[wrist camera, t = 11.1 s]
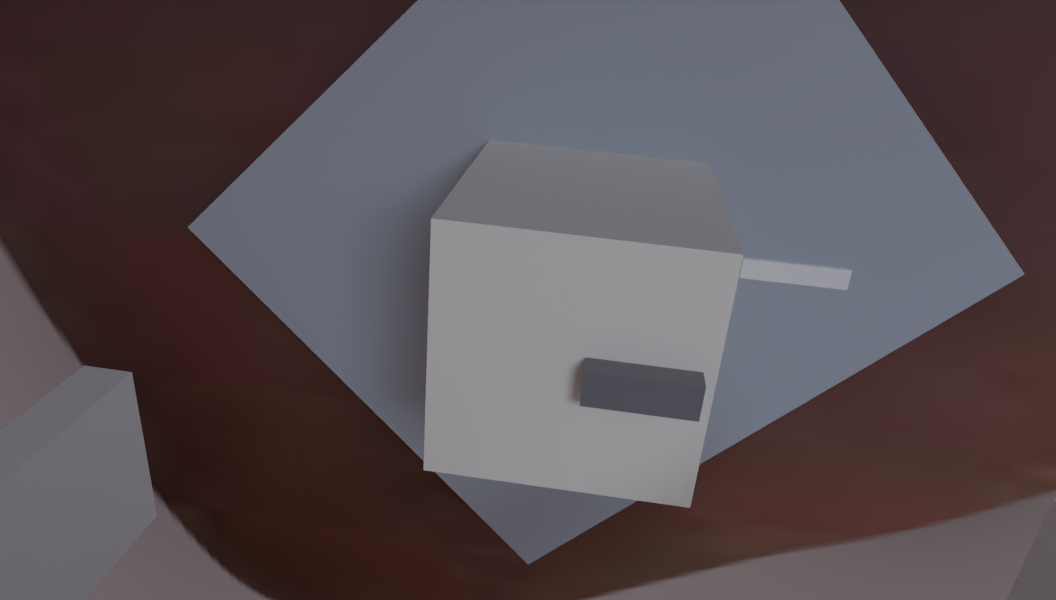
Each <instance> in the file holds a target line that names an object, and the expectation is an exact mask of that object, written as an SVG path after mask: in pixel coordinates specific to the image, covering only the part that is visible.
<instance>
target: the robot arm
mask: <svg viewBox="0 0 1056 600" xmlns="http://www.w3.org/2000/svg"><path fill="white" fill-rule="evenodd" d="M156 516H157V513H156V506H155V501H154V495H153V489H152V484H151V478H150V472H149V467H148V461H147V455H146V449H145V444H144V438H143V432H142V427H141V421H140V415H139V410H138V404H137V398H136V393H135V387H134V381H133V376H132V372H127V371H120V370H112V369H105V368H98V367H91V366H83V367H81V368H80V369H79V370H77V371H76V372H75V373H74V374H72V375H71V376H70V377H68V378H67V379H66V380H65V381H63V382H62V383H61V384H59V385H58V386H57V387H55V388H54V389H53V390H51V391H50V392H49V393H48V394H46V395H45V396H44V397H42V398H41V399H40V400H39V401H37V402H36V403H35V404H33V405H32V406H31V407H29V408H28V409H27V410H26V411H24V412H23V413H22V414H20V415H19V416H18V417H17V418H15V419H14V420H13V421H12V422H10V423H9V424H8V425H6V426H5V427H4V428H2V429H1V430H0V600H87V599H88V598H89V597H90V595H91V594H92V593H93V592H94V591H95V589H96V588H97V587H98V586H99V585H100V584H101V582H102V581H103V580H104V579H105V577H106V576H107V575H108V574H109V573H110V572H111V570H112V569H113V568H114V567H115V566H116V564H117V563H118V562H119V561H120V559H121V558H122V557H123V556H124V555H125V554H126V552H127V551H128V550H129V549H130V547H131V546H132V545H133V544H134V543H135V541H136V540H137V539H138V538H139V537H140V536H141V534H142V533H143V532H144V531H145V530H146V528H147V527H148V526H149V524H151V522H152V521H153V520H154V519H155V518H156ZM1007 600H1056V499H1053V502H1052V504H1051V506H1050V508H1049V510H1048V512H1047V514H1046V517H1045V519H1044V521H1043V523H1042V526H1041V527H1040V530H1039V532H1038V534H1037V536H1036V538H1035V540H1034V542H1033V545H1032V547H1031V549H1030V551H1029V553H1028V555H1027V558H1026V559H1025V562H1024V564H1023V566H1022V568H1021V570H1020V572H1019V575H1018V577H1017V579H1016V581H1015V583H1014V585H1013V587H1012V590H1011V592H1010V594H1009V596H1008V598H1007Z"/></svg>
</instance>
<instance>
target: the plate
mask: <svg viewBox="0 0 1056 600" xmlns="http://www.w3.org/2000/svg"><path fill="white" fill-rule="evenodd" d="M489 140H499V141H508V142H517V143H526V144H535V145H545V146H554V147H563V148H572V149H582V150H591V151H600V152H609V153H619V154H628V155H637V156H646V157H655V158H665V159H674V160H683V161H692V162H702V163H709V165H710V168H711V171H712V173H713V176H714V178H715V181H716V184H717V186H718V189H719V191H720V194H721V197H722V199H723V202H724V205H725V207H726V210H727V212H728V215H729V218H730V220H731V223H732V226H733V228H734V231H735V233H736V236H737V239H738V241H739V244H740V247H741V249H742V252H743V254H744V255H743V260H742V265H741V269H740V274H739V279H738V284H737V288H736V293H735V298H734V303H733V307H732V312H731V317H730V321H729V326H728V331H727V336H726V340H725V345H724V350H723V355H722V359H721V364H720V369H719V374H718V378H717V383H716V388H715V392H714V397H713V402H712V407H711V411H710V416H709V421H708V426H707V430H706V435H705V440H704V444H703V449H702V454H701V459H700V463H699V464H701V463H703V462H704V461H706V460H708V459H710V458H711V457H713V456H715V455H716V454H718V453H720V452H722V451H723V450H725V449H727V448H728V447H730V446H732V445H733V444H735V443H737V442H739V441H740V440H742V439H744V438H745V437H747V436H749V435H751V434H752V433H754V432H756V431H757V430H759V429H761V428H763V427H764V426H766V425H768V424H769V423H771V422H773V421H775V420H776V419H778V418H780V417H781V416H783V415H785V414H787V413H788V412H790V411H792V410H793V409H795V408H797V407H798V406H800V405H802V404H804V403H805V402H807V401H809V400H810V399H812V398H814V397H816V396H817V395H819V394H821V393H822V392H824V391H826V390H828V389H829V388H831V387H833V386H834V385H836V384H838V383H840V382H841V381H843V380H845V379H846V378H848V377H850V376H852V375H853V374H855V373H857V372H858V371H860V370H862V369H863V368H865V367H867V366H869V365H870V364H872V363H874V362H875V361H877V360H879V359H881V358H882V357H884V356H886V355H887V354H889V353H891V352H893V351H894V350H896V349H898V348H899V347H901V346H903V345H905V344H906V343H908V342H910V341H911V340H913V339H915V338H917V337H918V336H920V335H922V334H923V333H925V332H927V331H928V330H930V329H932V328H934V327H935V326H937V325H939V324H940V323H942V322H944V321H946V320H947V319H949V318H951V317H952V316H954V315H956V314H958V313H959V312H961V311H963V310H964V309H966V308H968V307H970V306H971V305H973V304H975V303H976V302H978V301H980V300H982V299H983V298H985V297H987V296H988V295H990V294H992V293H993V292H995V291H997V290H999V289H1000V288H1002V287H1004V286H1005V285H1007V284H1009V283H1011V282H1012V281H1014V280H1016V279H1017V278H1019V277H1021V276H1023V275H1024V273H1023V271H1022V270H1021V268H1020V267H1019V265H1018V264H1017V262H1016V261H1015V259H1014V258H1013V256H1012V255H1011V253H1010V252H1009V250H1008V249H1007V247H1006V246H1005V244H1004V243H1003V241H1002V240H1001V239H1000V237H999V236H998V234H997V233H996V231H995V230H994V228H993V227H992V225H991V224H990V222H989V221H988V219H987V218H986V216H985V215H984V213H983V212H982V210H981V209H980V207H979V206H978V204H977V203H976V202H975V200H974V199H973V197H972V196H971V194H970V193H969V191H968V190H967V188H966V187H965V185H964V184H963V182H962V181H961V179H960V178H959V176H958V175H957V173H956V172H955V170H954V169H953V168H952V166H951V165H950V163H949V162H948V160H947V159H946V157H945V156H944V154H943V153H942V151H941V150H940V148H939V147H938V145H937V144H936V142H935V141H934V139H933V138H932V136H931V135H930V133H929V132H928V131H927V129H926V128H925V126H924V125H923V123H922V122H921V120H920V119H919V117H918V116H917V114H916V113H915V111H914V110H913V108H912V107H911V105H910V104H909V102H908V101H907V99H906V98H905V96H904V95H903V94H902V92H901V91H900V89H899V88H898V86H897V85H896V83H895V82H894V80H893V79H892V77H891V76H890V74H889V73H888V71H887V70H886V68H885V67H884V65H883V64H882V62H881V61H880V60H879V58H878V57H877V55H876V54H875V52H874V51H873V49H872V48H871V46H870V45H869V43H868V42H867V40H866V39H865V37H864V36H863V34H862V33H861V31H860V30H859V28H858V27H857V25H856V24H855V23H854V21H853V20H852V18H851V17H850V15H849V14H848V12H847V11H846V9H845V8H844V6H843V5H842V3H841V2H840V0H417V1H416V2H415V3H414V4H413V5H412V6H411V7H410V8H409V9H408V10H407V11H406V12H405V13H404V14H403V15H402V16H401V17H400V18H399V19H398V20H397V21H396V22H395V23H394V24H393V25H392V26H391V27H390V28H389V29H388V30H387V31H386V32H385V33H384V34H383V35H382V36H381V37H380V38H379V39H378V40H377V41H376V42H375V43H374V44H373V45H372V46H371V47H370V48H369V49H368V50H367V51H366V52H365V53H364V54H363V55H362V56H361V57H360V58H359V59H358V60H357V61H356V62H355V63H354V64H353V65H352V66H351V67H350V68H349V69H348V70H347V71H345V72H344V73H343V74H342V75H341V76H340V77H339V78H338V79H337V80H336V81H335V82H334V83H333V84H332V85H331V86H330V87H329V88H328V89H327V90H326V91H325V92H324V93H323V94H322V95H321V96H320V97H319V98H318V99H317V100H316V101H315V102H314V103H313V104H312V105H311V106H310V107H309V108H308V109H307V110H306V111H305V112H304V113H303V114H302V115H301V116H300V117H299V118H298V119H297V120H296V121H295V122H294V123H293V124H292V125H291V126H290V127H289V128H288V129H287V130H286V131H285V132H284V133H283V134H282V135H281V136H280V137H279V138H278V139H277V140H276V141H275V142H274V143H273V144H272V145H270V146H269V147H268V148H267V149H266V150H265V151H264V152H263V153H262V154H261V155H260V156H259V157H258V158H257V159H256V160H255V161H254V162H253V163H252V164H251V165H250V166H249V167H248V168H247V169H246V170H245V171H244V172H243V173H242V174H241V175H240V176H239V177H238V178H237V179H236V180H235V181H234V182H233V183H232V184H231V185H230V186H229V187H228V188H227V189H226V190H225V191H224V192H223V193H222V194H221V195H220V196H219V197H218V198H217V199H216V200H215V201H214V202H213V203H212V204H211V205H210V206H209V207H208V208H207V209H206V210H205V211H204V212H203V213H202V214H201V215H200V216H199V217H198V218H197V219H195V220H194V221H193V222H192V223H191V224H190V225H189V226H188V228H189V229H190V230H191V231H192V232H193V233H194V234H195V235H196V236H197V237H198V238H199V239H200V240H201V241H202V242H203V243H204V244H205V245H206V246H207V247H208V248H209V249H210V250H211V251H212V252H213V253H214V254H215V255H216V256H217V257H218V258H219V259H220V260H221V261H222V262H223V263H224V264H225V265H226V266H227V267H228V268H229V269H230V270H231V271H232V272H233V273H234V274H235V275H236V276H237V277H238V278H239V279H240V280H241V281H242V282H243V283H244V284H245V285H246V286H247V287H248V288H249V289H250V290H251V291H252V292H253V293H254V294H255V295H256V296H257V297H258V298H259V299H260V300H261V301H262V302H263V303H264V304H265V305H267V306H268V307H269V308H270V309H271V310H272V311H273V312H274V313H275V314H276V315H277V316H278V317H279V318H280V319H281V320H282V321H283V322H284V323H285V324H286V325H287V326H288V327H289V328H290V329H291V330H292V331H293V332H294V333H295V334H296V335H297V336H298V337H299V338H300V339H301V340H302V341H303V342H304V343H305V344H306V345H307V346H308V347H309V348H310V349H311V350H312V351H313V352H314V353H315V354H316V355H317V356H318V357H319V358H320V359H321V360H322V361H323V362H324V363H325V364H326V365H327V366H328V367H329V368H330V369H331V370H332V371H333V372H334V373H335V374H336V375H337V376H338V377H339V378H340V379H341V380H342V381H343V382H344V383H345V384H346V385H347V386H348V387H349V388H350V389H351V390H352V391H353V392H354V393H355V394H356V395H357V396H358V397H359V398H360V399H361V400H362V401H363V402H364V403H366V404H367V405H368V406H369V407H370V408H371V409H372V410H373V411H374V412H375V413H376V414H377V415H378V416H379V417H380V418H381V419H382V420H383V421H384V422H385V423H386V424H387V425H388V426H389V427H390V428H391V429H392V430H393V431H394V432H395V433H396V434H397V435H398V436H399V437H400V438H401V439H402V440H403V441H404V442H405V443H406V444H407V445H408V446H409V447H410V448H411V449H412V450H413V451H414V452H415V453H416V454H417V455H418V456H419V457H420V458H421V459H422V460H423V461H424V435H425V402H426V368H427V335H428V302H429V269H430V236H431V218H432V216H433V215H434V214H435V212H436V211H437V210H438V208H439V207H440V206H441V204H442V203H443V201H444V200H445V199H446V197H447V196H448V195H449V193H450V192H451V191H452V189H453V188H454V187H455V185H456V184H457V183H458V181H459V180H460V179H461V177H462V176H463V175H464V173H465V172H466V171H467V169H468V168H469V167H470V165H471V164H472V163H473V161H474V160H475V159H476V157H477V156H478V155H479V153H480V152H481V151H482V149H483V148H484V147H485V145H486V144H487V143H488V141H489ZM435 473H436V474H437V475H438V476H439V477H440V478H441V479H442V480H443V481H444V482H445V483H446V484H447V485H448V486H449V487H450V488H451V489H452V490H453V491H454V492H455V493H456V494H457V495H458V496H459V497H460V498H461V499H462V500H463V501H464V502H466V503H467V504H468V505H469V506H470V507H471V508H472V509H473V510H474V511H475V512H476V513H477V514H478V515H479V516H480V517H481V518H482V519H483V520H484V521H485V522H486V523H487V524H488V525H489V526H490V527H491V528H492V529H493V530H494V531H495V532H496V533H497V534H498V535H499V536H500V537H501V538H502V539H503V540H504V541H505V542H506V543H507V544H508V545H509V546H510V547H511V548H512V549H513V550H514V551H515V552H516V553H517V554H518V555H519V556H520V557H521V558H522V559H523V560H524V561H525V562H526V563H527V564H530V563H532V562H533V561H535V560H537V559H538V558H540V557H542V556H544V555H545V554H547V553H549V552H550V551H552V550H554V549H556V548H557V547H559V546H561V545H562V544H564V543H566V542H568V541H569V540H571V539H573V538H574V537H576V536H578V535H580V534H581V533H583V532H585V531H586V530H588V529H590V528H592V527H593V526H595V525H597V524H598V523H600V522H602V521H603V520H605V519H607V518H609V517H610V516H612V515H614V514H615V513H617V512H619V511H621V510H622V509H624V508H626V507H627V506H629V505H631V504H633V503H634V502H636V501H638V500H631V499H624V498H617V497H610V496H603V495H596V494H589V493H582V492H574V491H567V490H560V489H553V488H546V487H539V486H532V485H525V484H518V483H511V482H504V481H497V480H489V479H482V478H475V477H468V476H461V475H454V474H447V473H440V472H435Z"/></svg>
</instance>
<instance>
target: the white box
mask: <svg viewBox="0 0 1056 600" xmlns="http://www.w3.org/2000/svg"><path fill="white" fill-rule="evenodd" d="M743 255H744V254H743V252H742V249H741V247H740V244H739V241H738V239H737V236H736V233H735V231H734V228H733V226H732V223H731V220H730V218H729V215H728V212H727V210H726V207H725V205H724V202H723V199H722V197H721V194H720V191H719V189H718V186H717V184H716V181H715V178H714V176H713V173H712V171H711V168H710V165H709V163H702V162H692V161H683V160H674V159H665V158H655V157H646V156H637V155H628V154H619V153H609V152H600V151H591V150H582V149H572V148H563V147H554V146H545V145H535V144H526V143H517V142H508V141H499V140H489V141H488V143H487V144H486V145H485V147H484V148H483V149H482V151H481V152H480V153H479V155H478V156H477V157H476V159H475V160H474V161H473V163H472V164H471V165H470V167H469V168H468V169H467V171H466V172H465V173H464V175H463V176H462V177H461V179H460V180H459V181H458V183H457V184H456V185H455V187H454V188H453V189H452V191H451V192H450V193H449V195H448V196H447V197H446V199H445V200H444V201H443V203H442V204H441V206H440V207H439V208H438V210H437V211H436V212H435V214H434V215H433V216H432V218H431V236H430V269H429V302H428V335H427V368H426V402H425V435H424V468H423V470H426V471H433V472H440V473H447V474H454V475H461V476H468V477H475V478H482V479H489V480H497V481H504V482H511V483H518V484H525V485H532V486H539V487H546V488H553V489H560V490H567V491H574V492H582V493H589V494H596V495H603V496H610V497H617V498H624V499H631V500H638V501H645V502H652V503H659V504H666V505H674V506H681V507H688V508H690V506H691V501H692V497H693V492H694V487H695V482H696V478H697V473H698V468H699V463H700V459H701V454H702V449H703V444H704V440H705V435H706V430H707V426H708V421H709V416H710V411H711V407H712V402H713V397H714V392H715V388H716V383H717V378H718V374H719V369H720V364H721V359H722V355H723V350H724V345H725V340H726V336H727V331H728V326H729V321H730V317H731V312H732V307H733V303H734V298H735V293H736V288H737V284H738V279H739V274H740V269H741V265H742V260H743Z"/></svg>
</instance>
